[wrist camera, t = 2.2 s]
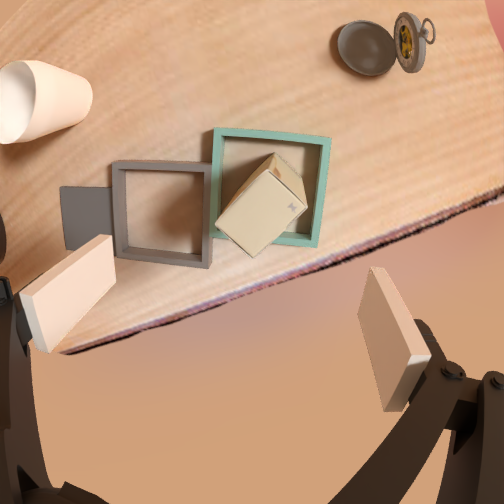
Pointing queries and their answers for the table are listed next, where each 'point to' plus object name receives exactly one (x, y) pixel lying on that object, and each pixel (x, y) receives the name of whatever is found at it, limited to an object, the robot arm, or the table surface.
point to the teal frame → (325, 142)
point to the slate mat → (86, 215)
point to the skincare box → (263, 206)
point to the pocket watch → (384, 45)
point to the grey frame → (121, 214)
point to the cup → (40, 100)
